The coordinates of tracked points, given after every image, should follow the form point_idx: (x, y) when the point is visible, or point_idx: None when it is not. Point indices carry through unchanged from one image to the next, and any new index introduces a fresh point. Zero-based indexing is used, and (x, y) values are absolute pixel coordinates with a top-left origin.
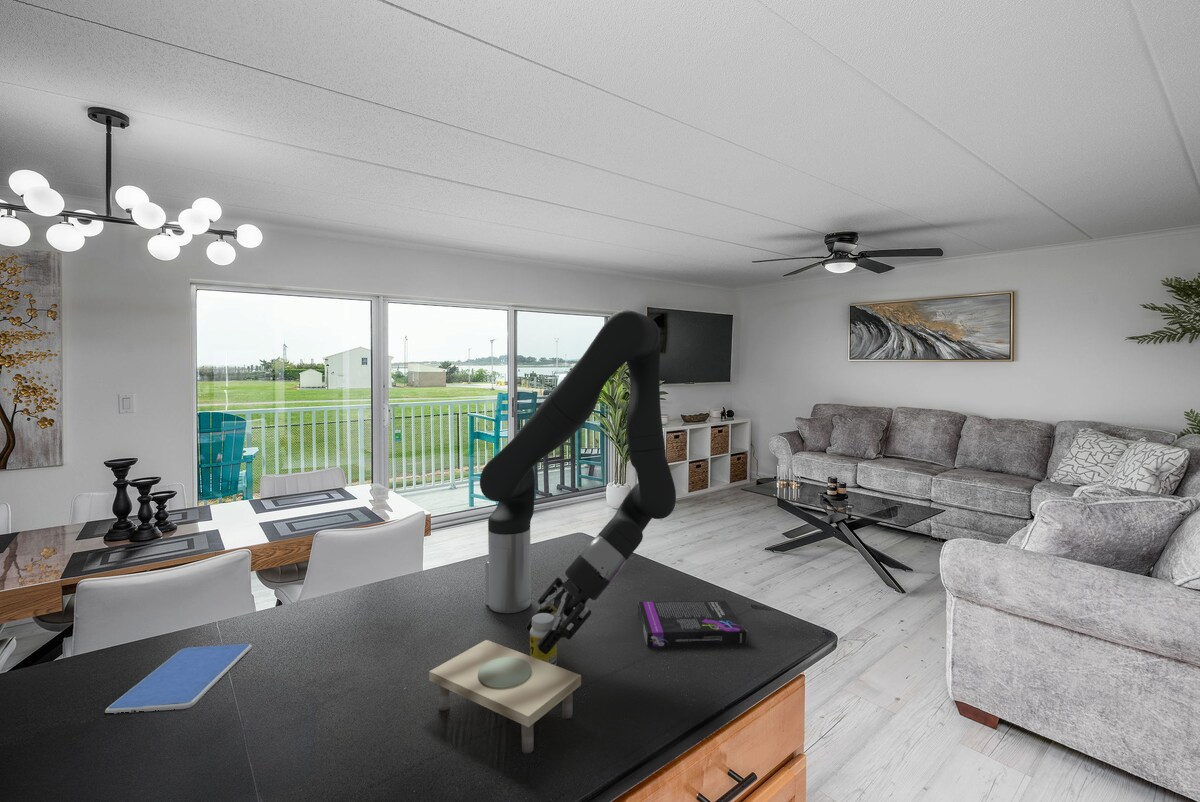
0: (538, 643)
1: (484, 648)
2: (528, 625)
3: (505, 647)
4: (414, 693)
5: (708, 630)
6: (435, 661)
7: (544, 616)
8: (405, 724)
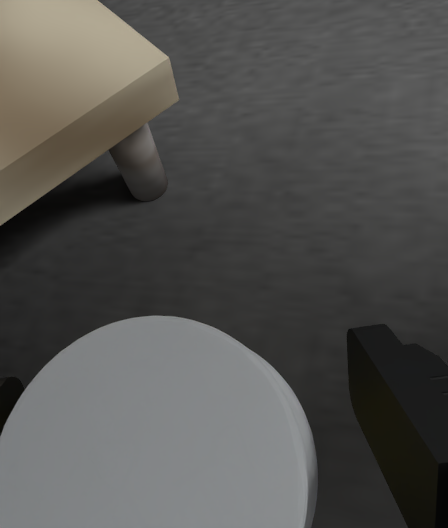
0: (2, 384)
1: (64, 53)
2: (355, 340)
3: (23, 151)
4: (152, 4)
5: None
6: (339, 29)
7: (175, 503)
8: None
